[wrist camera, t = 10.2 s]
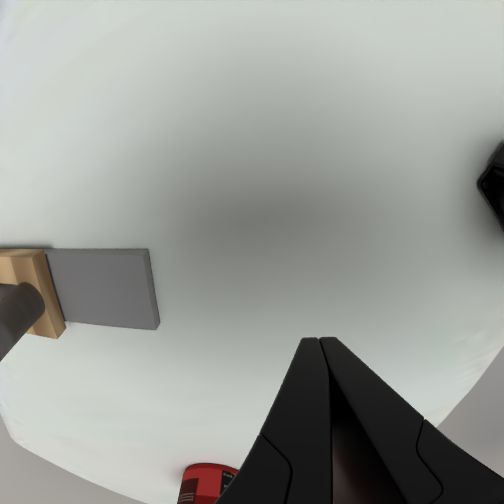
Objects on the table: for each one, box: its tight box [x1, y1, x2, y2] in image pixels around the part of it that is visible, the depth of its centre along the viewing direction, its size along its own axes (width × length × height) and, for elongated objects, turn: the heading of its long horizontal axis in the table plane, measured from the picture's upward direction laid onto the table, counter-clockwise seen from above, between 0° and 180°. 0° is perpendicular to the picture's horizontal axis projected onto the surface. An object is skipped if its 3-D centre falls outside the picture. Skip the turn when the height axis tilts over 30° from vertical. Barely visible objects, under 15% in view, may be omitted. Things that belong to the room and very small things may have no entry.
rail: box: [0, 249, 160, 330], centre depth 19 cm, size 16×6×7 cm, turn 90°
